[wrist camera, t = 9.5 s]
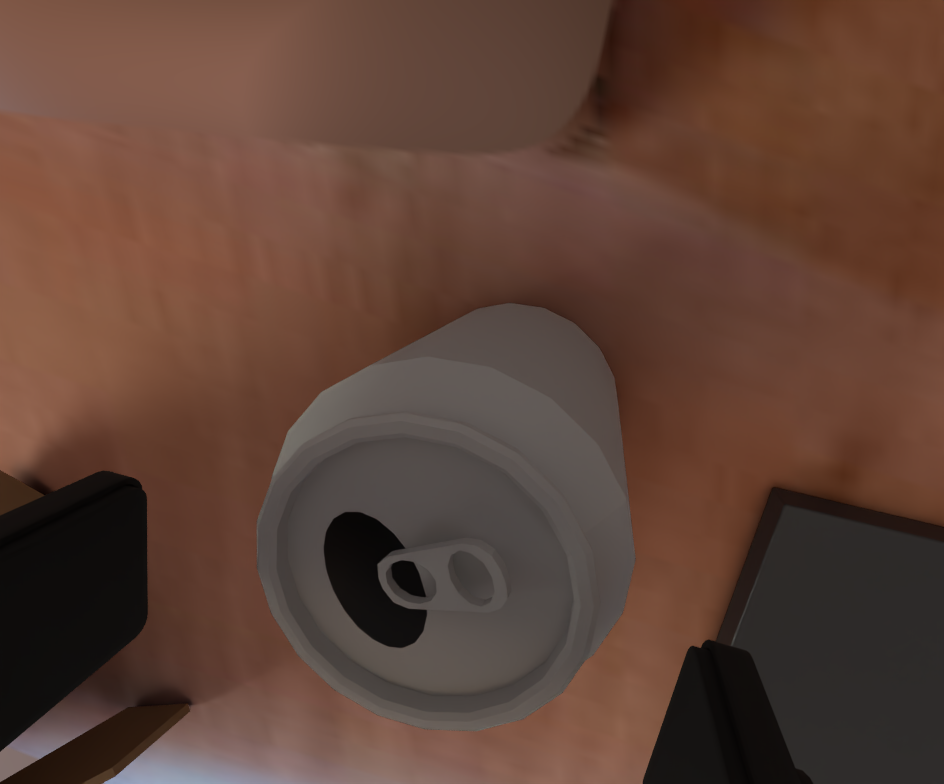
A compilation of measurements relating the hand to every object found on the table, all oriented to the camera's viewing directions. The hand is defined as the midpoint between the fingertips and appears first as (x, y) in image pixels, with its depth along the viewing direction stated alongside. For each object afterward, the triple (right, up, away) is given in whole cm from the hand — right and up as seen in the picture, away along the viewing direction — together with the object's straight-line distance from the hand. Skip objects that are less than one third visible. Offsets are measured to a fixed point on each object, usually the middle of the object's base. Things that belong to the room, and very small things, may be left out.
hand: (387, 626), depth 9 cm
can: (+3, +4, +12) cm, 13 cm away
